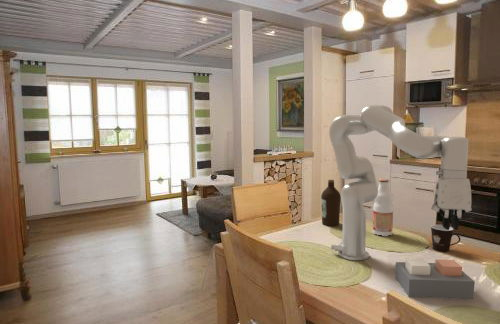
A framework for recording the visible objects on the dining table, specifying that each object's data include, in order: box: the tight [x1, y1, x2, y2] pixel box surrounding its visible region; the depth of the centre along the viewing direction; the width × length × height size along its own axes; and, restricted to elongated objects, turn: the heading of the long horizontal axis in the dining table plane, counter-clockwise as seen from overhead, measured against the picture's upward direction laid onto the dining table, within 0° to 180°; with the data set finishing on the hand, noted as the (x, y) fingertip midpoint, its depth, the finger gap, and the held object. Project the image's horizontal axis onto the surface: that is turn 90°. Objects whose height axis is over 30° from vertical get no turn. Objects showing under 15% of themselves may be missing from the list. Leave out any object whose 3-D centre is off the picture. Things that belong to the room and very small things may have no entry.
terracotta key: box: [434, 258, 463, 276], centre depth 118 cm, size 6×6×4 cm
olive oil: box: [320, 179, 342, 227], centre depth 194 cm, size 11×11×25 cm
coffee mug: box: [430, 224, 461, 253], centre depth 152 cm, size 12×9×10 cm
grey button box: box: [394, 261, 475, 300], centre depth 119 cm, size 20×14×6 cm
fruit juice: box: [372, 178, 394, 237], centre depth 175 cm, size 9×9×28 cm
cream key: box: [405, 258, 430, 275], centre depth 119 cm, size 6×6×4 cm
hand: (450, 228), depth 116 cm, fingers closed
